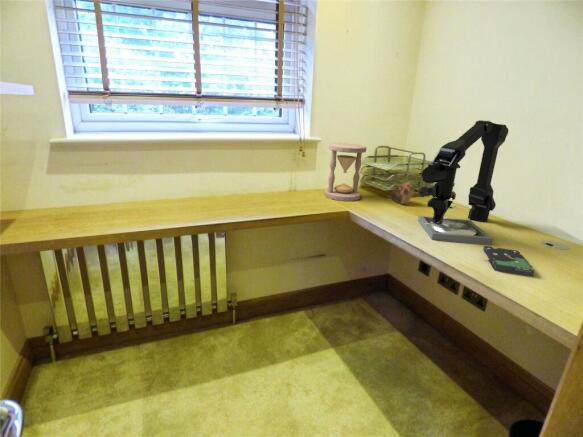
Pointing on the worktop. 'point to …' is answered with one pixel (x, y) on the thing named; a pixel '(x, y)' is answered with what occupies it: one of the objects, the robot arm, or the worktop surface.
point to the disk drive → (508, 261)
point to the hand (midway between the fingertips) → (438, 220)
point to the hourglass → (343, 190)
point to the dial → (452, 227)
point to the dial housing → (478, 239)
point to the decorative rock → (403, 193)
